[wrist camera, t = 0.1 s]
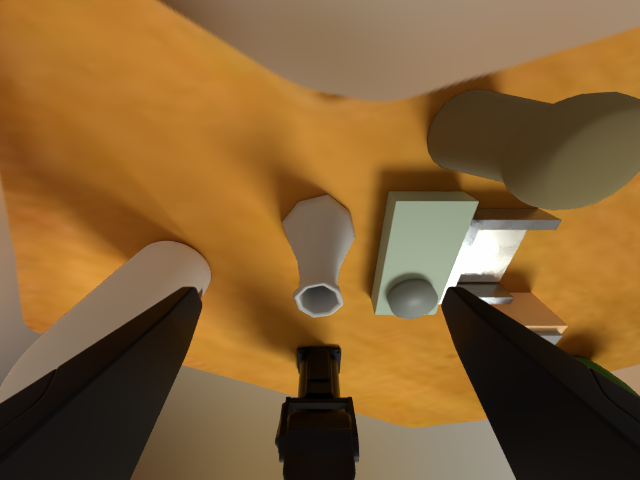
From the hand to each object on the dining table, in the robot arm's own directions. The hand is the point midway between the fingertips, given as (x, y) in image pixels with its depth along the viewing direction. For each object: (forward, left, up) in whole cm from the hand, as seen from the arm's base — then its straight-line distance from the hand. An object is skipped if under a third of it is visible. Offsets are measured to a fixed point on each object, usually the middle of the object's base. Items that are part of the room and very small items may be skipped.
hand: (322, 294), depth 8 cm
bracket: (-8, -18, -15) cm, 25 cm away
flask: (-5, 0, -15) cm, 16 cm away
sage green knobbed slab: (-8, -10, -15) cm, 20 cm away
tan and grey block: (-17, -24, -15) cm, 33 cm away
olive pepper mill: (+4, -12, -15) cm, 19 cm away
